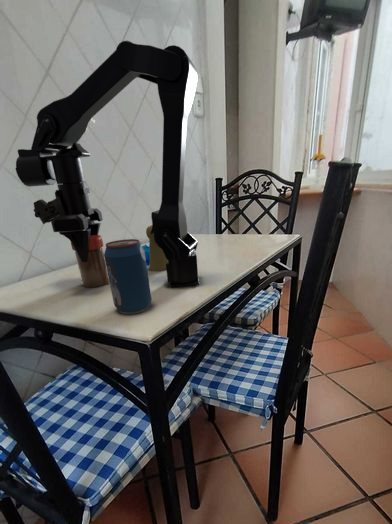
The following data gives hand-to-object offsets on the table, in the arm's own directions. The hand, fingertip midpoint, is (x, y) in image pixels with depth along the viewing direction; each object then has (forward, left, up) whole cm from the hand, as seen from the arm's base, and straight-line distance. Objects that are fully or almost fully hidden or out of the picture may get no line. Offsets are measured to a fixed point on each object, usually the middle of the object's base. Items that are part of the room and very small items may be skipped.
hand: (88, 258), depth 73 cm
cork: (-16, -10, -6) cm, 20 cm away
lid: (-1, 0, +4) cm, 4 cm away
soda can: (-12, +20, -6) cm, 24 cm away
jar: (-1, 0, -6) cm, 6 cm away
